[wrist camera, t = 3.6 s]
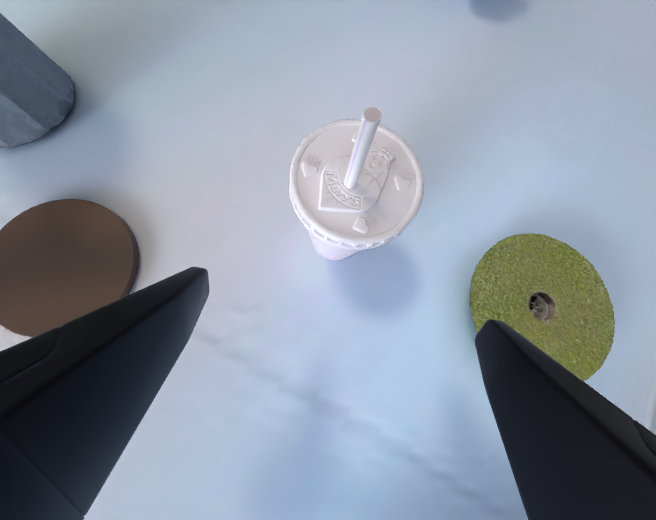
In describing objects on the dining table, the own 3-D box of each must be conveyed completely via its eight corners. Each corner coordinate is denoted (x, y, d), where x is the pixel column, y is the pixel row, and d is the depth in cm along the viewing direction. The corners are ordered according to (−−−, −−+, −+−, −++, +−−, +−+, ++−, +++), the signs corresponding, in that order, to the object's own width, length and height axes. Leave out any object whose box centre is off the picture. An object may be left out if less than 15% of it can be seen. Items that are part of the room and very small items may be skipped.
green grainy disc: (522, 414, 20) (545, 424, 18) (428, 290, 22) (440, 287, 20) (615, 323, 22) (644, 324, 20) (524, 215, 24) (543, 207, 22)
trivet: (157, 301, 20) (152, 301, 19) (5, 363, 18) (-4, 365, 18) (116, 183, 21) (111, 180, 21) (-26, 231, 20) (-36, 228, 19)
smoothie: (278, 233, 22) (232, 86, 8) (338, 186, 23) (387, -10, 9) (332, 294, 21) (383, 249, 7) (390, 242, 22) (527, 121, 9)
